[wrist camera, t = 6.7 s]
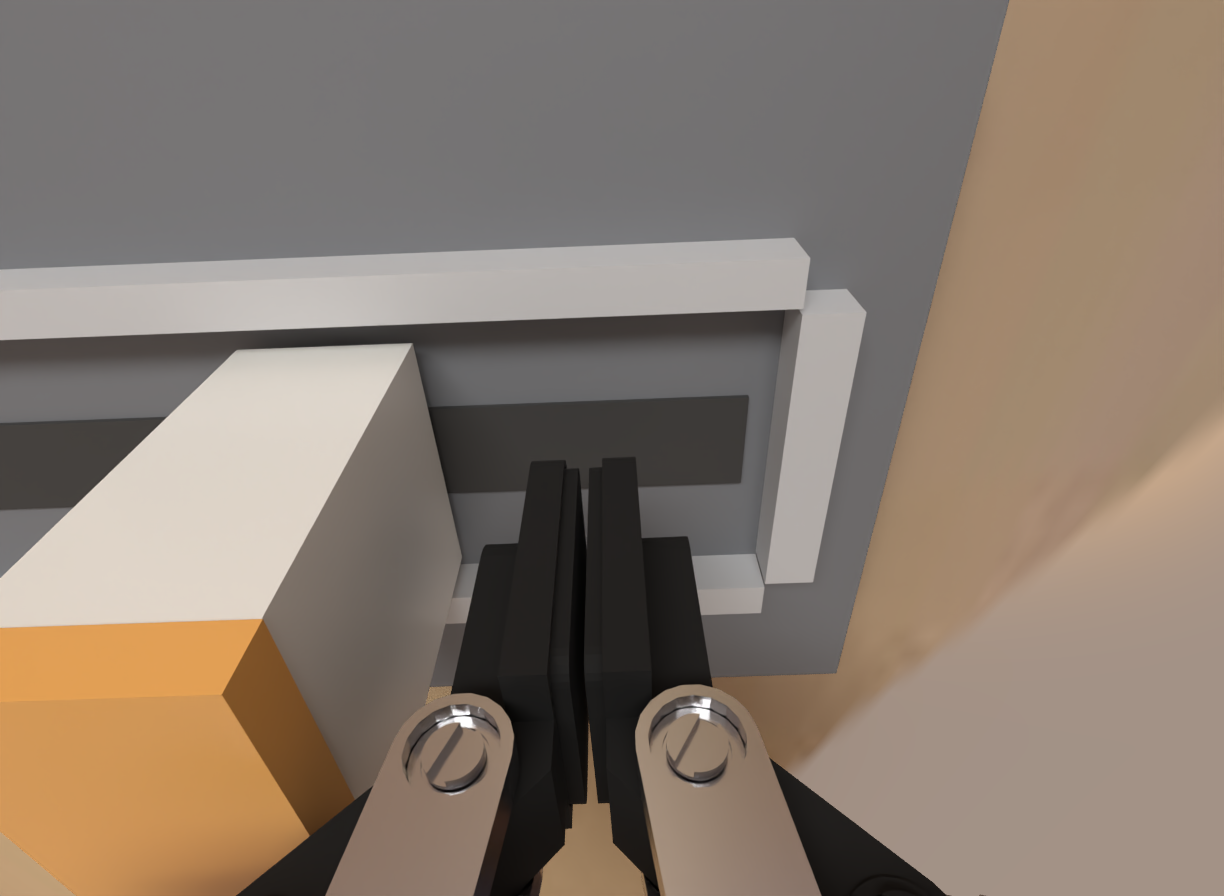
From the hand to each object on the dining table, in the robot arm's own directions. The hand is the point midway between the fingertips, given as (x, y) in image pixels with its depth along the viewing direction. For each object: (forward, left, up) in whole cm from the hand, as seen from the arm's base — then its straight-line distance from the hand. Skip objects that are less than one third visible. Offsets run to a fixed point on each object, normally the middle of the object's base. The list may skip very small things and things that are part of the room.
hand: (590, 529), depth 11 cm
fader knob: (+4, 0, -2) cm, 5 cm away
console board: (+6, 0, -4) cm, 8 cm away
